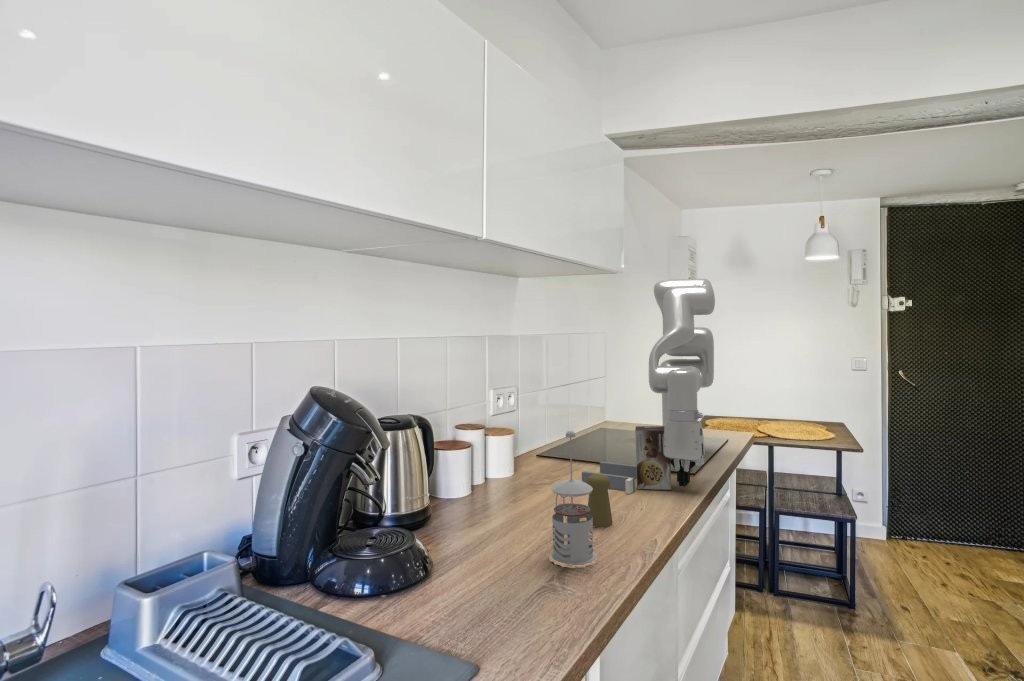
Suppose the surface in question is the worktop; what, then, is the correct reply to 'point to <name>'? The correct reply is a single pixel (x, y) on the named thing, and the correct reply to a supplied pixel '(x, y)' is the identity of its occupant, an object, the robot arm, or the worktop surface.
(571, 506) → the french press
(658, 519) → the worktop surface
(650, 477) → the coffee box
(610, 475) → the pair of grey bars
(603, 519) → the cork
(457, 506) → the worktop surface
